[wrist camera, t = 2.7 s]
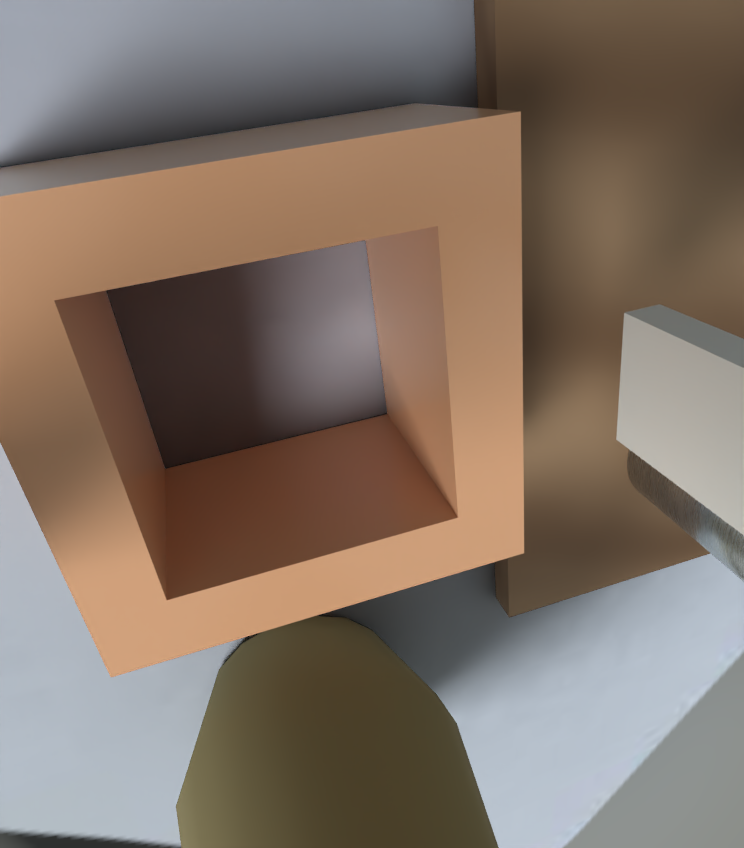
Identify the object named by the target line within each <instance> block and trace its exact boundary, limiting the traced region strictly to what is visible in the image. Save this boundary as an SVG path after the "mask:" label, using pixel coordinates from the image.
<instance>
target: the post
mask: <svg viewBox="0 0 744 848" xmlns="http://www.w3.org/2000/svg"><path fill="white" fill-rule="evenodd" d="M627 470H628V475H629V479H630V481H631V483H632V485H633V486H634V488H635V489H636V490H637V491H638V492H639V493H641V494H642V495H643V496H644V497H645V498H647V499H648V500H649V501H650V502H651V503H652V504H654V505H655V506H656V507H657V508H658V509H659V510H661V511H662V512H663V513H664V514H665V515H666V516H668V517H669V518H670V519H671V520H672V521H673V522H675V523H676V524H677V525H678V526H679V527H680V528H682V529H683V530H684V531H685V532H686V533H687V534H689V535H690V536H691V537H692V538H693V539H694V540H696V541H697V542H698V543H699V544H700V545H701V546H703V547H704V548H705V549H706V550H707V551H709V552H710V553H711V554H712V555H713V556H714V557H716V558H717V559H718V560H719V561H720V562H721V563H723V564H724V565H725V566H726V567H727V568H728V569H730V570H731V571H732V572H733V573H734V574H735V575H737V576H738V577H739V578H740V579H741V580H742V581H744V535H743V534H741V533H740V532H739V531H737V530H736V529H735V528H733V527H732V526H731V525H729V524H728V523H727V522H725V521H724V520H723V519H721V518H720V517H719V516H717V515H716V514H715V513H713V512H712V511H711V510H709V509H708V508H707V507H705V506H704V505H703V504H701V503H700V502H699V501H697V500H696V499H695V498H693V497H692V496H691V495H689V494H688V493H687V492H685V491H684V490H683V489H681V488H680V487H679V486H677V485H676V484H675V483H673V482H672V481H671V480H669V479H668V478H667V477H665V476H664V475H663V474H661V473H660V472H659V471H657V470H656V469H655V468H653V467H652V466H651V465H649V464H648V463H647V462H645V461H644V460H643V459H641V458H640V457H639V456H637V455H636V454H635V453H633V452H632V451H631V450H629V453H628V459H627Z"/></svg>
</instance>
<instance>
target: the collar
mask: <svg viewBox="0 0 744 848" xmlns="http://www.w3.org/2000/svg"><path fill="white" fill-rule="evenodd" d="M363 240H366V248H367V256H368V264H369V272H370V280H371V288H372V296H373V304H374V312H375V320H376V328H377V336H378V344H379V352H380V360H381V368H382V376H383V384H384V392H385V400H386V408H387V414H385V415H381V416H377V417H373V418H369V419H365V420H361V421H357V422H353V423H349V424H345V425H341V426H337V427H332V428H328V429H324V430H320V431H316V432H312V433H308V434H304V435H300V436H296V437H292V438H288V439H284V440H280V441H276V442H272V443H268V444H264V445H260V446H256V447H252V448H247V449H243V450H239V451H235V452H231V453H227V454H223V455H219V456H215V457H211V458H207V459H203V460H199V461H195V462H191V463H187V464H183V465H179V466H175V467H171V468H167V469H165V466H164V463H163V460H162V457H161V454H160V451H159V448H158V445H157V442H156V439H155V436H154V433H153V430H152V427H151V424H150V421H149V418H148V415H147V412H146V409H145V406H144V403H143V400H142V397H141V394H140V391H139V388H138V385H137V382H136V379H135V376H134V373H133V370H132V367H131V364H130V361H129V358H128V355H127V352H126V349H125V346H124V343H123V340H122V337H121V334H120V331H119V328H118V325H117V322H116V319H115V316H114V313H113V310H112V307H111V304H110V301H109V298H108V295H107V292H106V290H111V289H116V288H121V287H126V286H131V285H136V284H142V283H147V282H152V281H157V280H162V279H167V278H173V277H178V276H183V275H188V274H193V273H198V272H203V271H209V270H214V269H219V268H224V267H229V266H234V265H240V264H245V263H250V262H255V261H260V260H265V259H270V258H276V257H281V256H286V255H291V254H296V253H301V252H307V251H312V250H317V249H322V248H327V247H332V246H338V245H343V244H348V243H353V242H358V241H363ZM0 442H1V445H2V447H3V449H4V451H5V453H6V455H7V457H8V459H9V462H10V464H11V466H12V468H13V470H14V472H15V474H16V477H17V479H18V481H19V483H20V485H21V487H22V489H23V491H24V494H25V496H26V498H27V500H28V502H29V504H30V506H31V508H32V511H33V513H34V515H35V517H36V519H37V521H38V523H39V525H40V528H41V530H42V532H43V534H44V536H45V538H46V540H47V542H48V545H49V547H50V549H51V551H52V553H53V555H54V557H55V559H56V562H57V564H58V566H59V568H60V570H61V572H62V574H63V577H64V579H65V581H66V583H67V585H68V587H69V589H70V591H71V594H72V596H73V598H74V600H75V602H76V604H77V606H78V608H79V611H80V613H81V615H82V617H83V619H84V621H85V623H86V625H87V628H88V630H89V632H90V634H91V636H92V638H93V640H94V642H95V645H96V647H97V649H98V651H99V653H100V655H101V657H102V659H103V662H104V664H105V666H106V668H107V670H108V672H109V674H110V677H114V676H117V675H121V674H124V673H127V672H131V671H134V670H137V669H141V668H144V667H147V666H151V665H154V664H157V663H161V662H164V661H167V660H171V659H174V658H177V657H180V656H184V655H187V654H190V653H194V652H197V651H200V650H204V649H207V648H210V647H214V646H217V645H220V644H224V643H227V642H230V641H234V640H237V639H240V638H244V637H247V636H250V635H254V634H257V633H260V632H264V631H267V630H270V629H274V628H277V627H280V626H284V625H287V624H290V623H294V622H297V621H300V620H303V619H307V618H310V617H313V616H317V615H320V614H323V613H327V612H330V611H333V610H337V609H340V608H343V607H347V606H350V605H353V604H357V603H360V602H363V601H367V600H370V599H373V598H377V597H380V596H383V595H387V594H390V593H393V592H397V591H400V590H403V589H407V588H410V587H413V586H417V585H420V584H423V583H426V582H430V581H433V580H436V579H440V578H443V577H446V576H450V575H453V574H456V573H460V572H463V571H466V570H470V569H473V568H476V567H480V566H483V565H486V564H490V563H493V562H496V561H500V560H503V559H506V558H510V557H513V556H516V555H520V554H523V553H524V465H523V334H522V203H521V111H509V110H496V109H483V108H470V107H457V106H444V105H432V104H419V103H413V104H406V105H400V106H393V107H387V108H381V109H374V110H368V111H361V112H355V113H349V114H342V115H336V116H329V117H323V118H316V119H310V120H304V121H297V122H291V123H284V124H278V125H271V126H265V127H259V128H252V129H246V130H239V131H233V132H226V133H220V134H214V135H207V136H201V137H194V138H188V139H182V140H175V141H169V142H162V143H156V144H149V145H143V146H137V147H130V148H124V149H117V150H111V151H104V152H98V153H92V154H85V155H79V156H72V157H66V158H60V159H53V160H47V161H40V162H34V163H27V164H21V165H15V166H8V167H2V168H0Z"/></svg>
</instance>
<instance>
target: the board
mask: <svg viewBox="0 0 744 848" xmlns="http://www.w3.org/2000/svg"><path fill="white" fill-rule="evenodd" d="M474 15H475V42H476V70H477V97H478V108H483V109H496V110H509V111H521V203H522V334H523V465H524V553H523V554H520V555H516V556H513V557H510V558H506V559H503V560H500V561H496V562H495V585H496V598H497V600H498V601H499V603H500V604H501V606H502V607H503V609H504V610H505V612H506V613H507V615H508V616H509V617H512V616H516V615H519V614H522V613H525V612H528V611H531V610H534V609H538V608H541V607H544V606H547V605H550V604H553V603H556V602H559V601H563V600H566V599H569V598H572V597H575V596H578V595H581V594H584V593H588V592H591V591H594V590H597V589H600V588H603V587H606V586H610V585H613V584H616V583H619V582H622V581H625V580H628V579H631V578H635V577H638V576H641V575H644V574H647V573H650V572H653V571H656V570H660V569H663V568H666V567H669V566H672V565H675V564H678V563H682V562H685V561H688V560H691V559H694V558H697V557H700V556H703V555H707V554H710V552H709V551H707V550H706V549H705V548H704V547H703V546H701V545H700V544H699V543H698V542H697V541H696V540H694V539H693V538H692V537H691V536H690V535H689V534H687V533H686V532H685V531H684V530H683V529H682V528H680V527H679V526H678V525H677V524H676V523H675V522H673V521H672V520H671V519H670V518H669V517H668V516H666V515H665V514H664V513H663V512H662V511H661V510H659V509H658V508H657V507H656V506H655V505H654V504H652V503H651V502H650V501H649V500H648V499H647V498H645V497H644V496H643V495H642V494H641V493H639V492H638V491H637V490H636V489H635V488H634V486H633V485H632V483H631V481H630V479H629V475H628V470H627V459H628V453H629V449H628V448H627V447H625V446H624V445H623V444H621V443H620V442H619V441H617V440H616V436H617V420H618V404H619V388H620V372H621V356H622V340H623V324H624V313H625V312H629V311H634V310H638V309H642V308H646V307H651V306H655V305H659V304H660V305H663V306H665V307H668V308H670V309H672V310H675V311H677V312H680V313H682V314H684V315H687V316H689V317H692V318H694V319H697V320H699V321H701V322H704V323H706V324H709V325H711V326H713V327H716V328H718V329H721V330H723V331H726V332H728V333H730V334H733V335H735V336H738V337H740V338H742V339H744V0H474Z"/></svg>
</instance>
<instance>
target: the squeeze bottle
mask: <svg viewBox="0 0 744 848" xmlns="http://www.w3.org/2000/svg"><path fill="white" fill-rule="evenodd" d="M176 810H177V817H178V825H179V832H180V840H181V847H182V848H498V845H497V842H496V839H495V836H494V833H493V830H492V827H491V824H490V821H489V818H488V815H487V812H486V809H485V806H484V803H483V800H482V797H481V794H480V791H479V788H478V786H477V783H476V780H475V777H474V774H473V771H472V768H471V765H470V762H469V759H468V756H467V753H466V750H465V747H464V744H463V741H462V738H461V735H460V732H459V729H458V726H457V723H456V722H455V720H454V719H453V717H452V716H451V715H450V713H449V712H448V710H447V709H446V707H445V706H444V704H443V703H442V701H441V700H440V699H439V697H438V696H437V694H436V693H435V692H434V691H433V690H432V689H431V688H430V687H429V686H428V685H427V684H426V683H425V682H424V681H423V680H422V679H421V678H420V677H419V676H418V675H417V674H416V673H415V672H414V671H413V670H412V669H411V668H410V667H409V666H408V665H407V664H405V663H404V662H403V661H402V660H401V659H400V658H399V657H398V656H397V655H396V654H395V653H394V652H393V651H392V650H391V649H390V648H389V647H388V646H387V645H386V644H385V643H384V642H383V641H382V640H381V639H380V638H379V637H378V636H377V635H376V634H375V633H374V632H373V631H372V630H370V629H368V628H366V627H364V626H362V625H360V624H358V623H356V622H354V621H352V620H349V619H347V618H340V617H324V616H313V617H310V618H307V619H303V620H300V621H297V622H294V623H290V624H287V625H284V626H280V627H277V628H274V629H270V630H267V631H264V632H261V633H260V634H258V635H256V636H254V637H253V638H251V639H249V640H248V641H246V642H244V643H242V644H241V645H240V646H239V648H238V649H237V650H236V651H235V652H234V653H233V654H232V655H231V657H230V658H229V659H228V660H227V661H226V662H225V663H224V665H223V666H222V667H221V668H220V669H219V671H218V675H217V678H216V681H215V684H214V687H213V690H212V694H211V697H210V700H209V703H208V706H207V709H206V713H205V716H204V719H203V722H202V725H201V729H200V732H199V735H198V738H197V741H196V744H195V748H194V751H193V754H192V757H191V760H190V764H189V767H188V770H187V773H186V776H185V779H184V783H183V786H182V789H181V792H180V795H179V799H178V802H177V805H176Z"/></svg>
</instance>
